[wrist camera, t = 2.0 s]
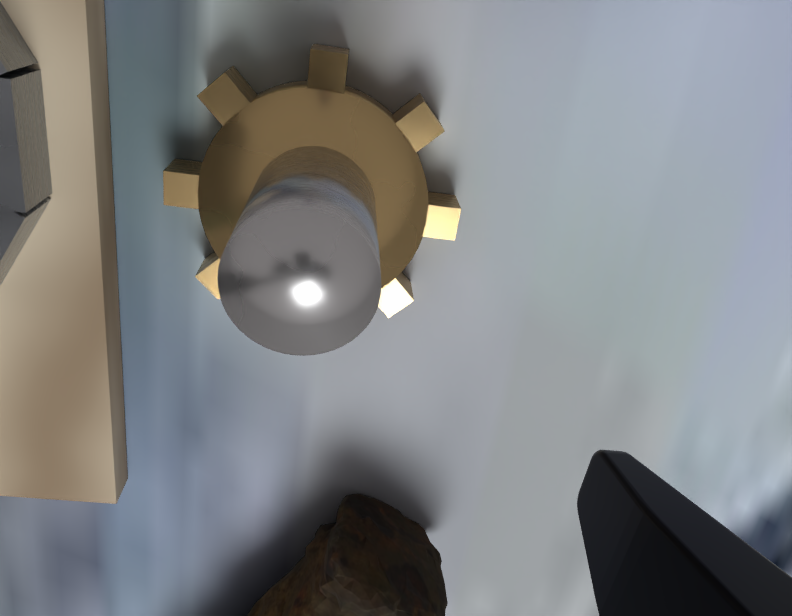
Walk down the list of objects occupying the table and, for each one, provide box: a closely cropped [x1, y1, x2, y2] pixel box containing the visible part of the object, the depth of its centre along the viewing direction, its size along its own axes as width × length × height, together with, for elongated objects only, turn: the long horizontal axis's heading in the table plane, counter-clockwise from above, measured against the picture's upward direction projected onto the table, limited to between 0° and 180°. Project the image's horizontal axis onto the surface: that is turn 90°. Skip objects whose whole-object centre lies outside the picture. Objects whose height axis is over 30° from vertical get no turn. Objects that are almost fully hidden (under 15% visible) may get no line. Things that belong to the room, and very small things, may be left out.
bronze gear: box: [163, 44, 461, 355], centre depth 15 cm, size 8×8×6 cm
